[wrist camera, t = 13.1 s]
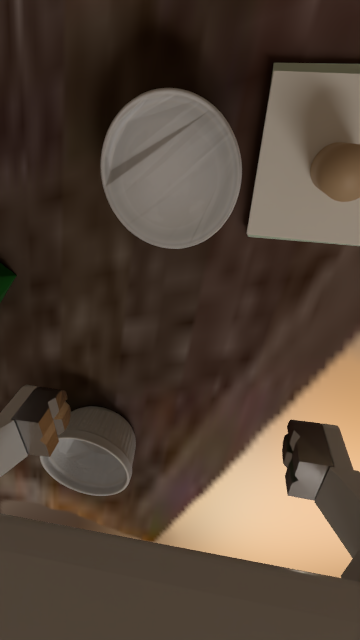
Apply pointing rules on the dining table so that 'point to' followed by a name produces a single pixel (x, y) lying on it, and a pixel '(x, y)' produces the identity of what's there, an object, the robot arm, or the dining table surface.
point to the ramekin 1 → (93, 452)
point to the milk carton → (5, 280)
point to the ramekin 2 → (171, 168)
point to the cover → (309, 159)
